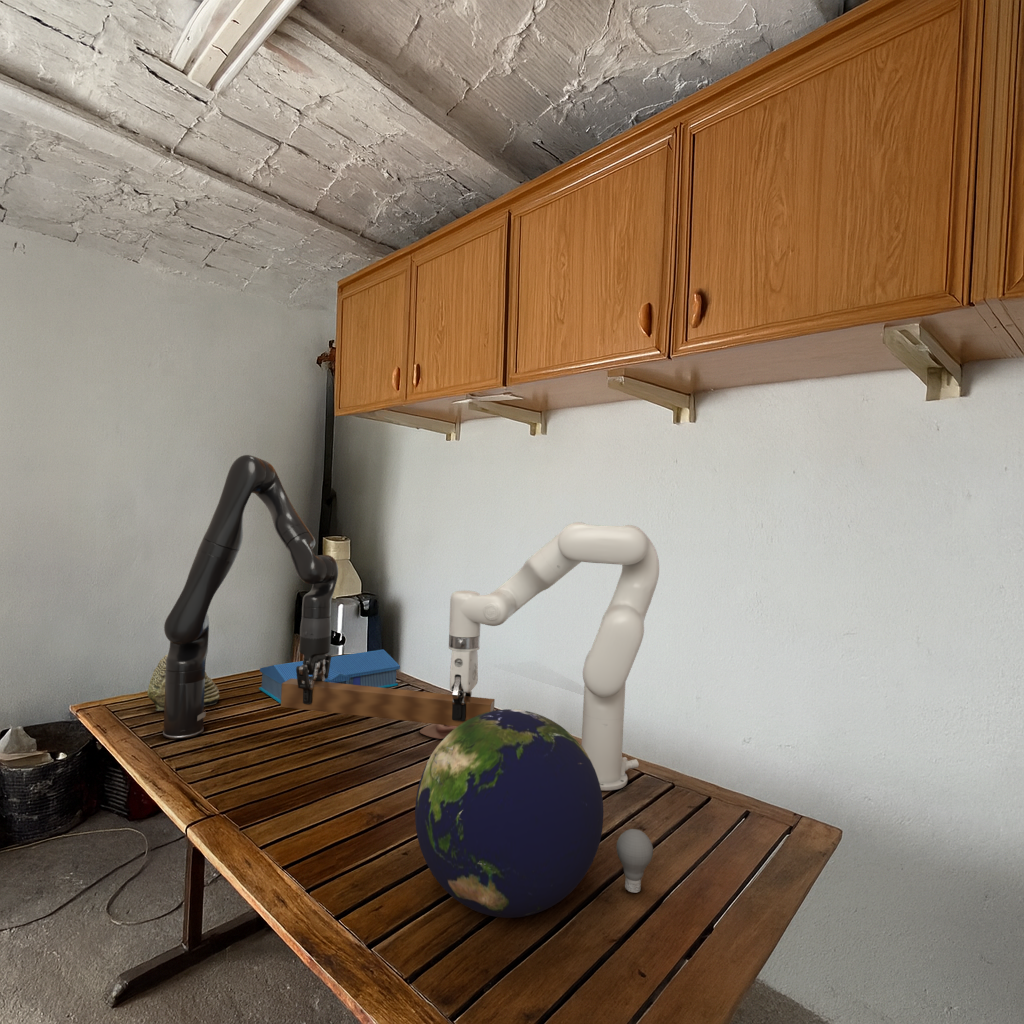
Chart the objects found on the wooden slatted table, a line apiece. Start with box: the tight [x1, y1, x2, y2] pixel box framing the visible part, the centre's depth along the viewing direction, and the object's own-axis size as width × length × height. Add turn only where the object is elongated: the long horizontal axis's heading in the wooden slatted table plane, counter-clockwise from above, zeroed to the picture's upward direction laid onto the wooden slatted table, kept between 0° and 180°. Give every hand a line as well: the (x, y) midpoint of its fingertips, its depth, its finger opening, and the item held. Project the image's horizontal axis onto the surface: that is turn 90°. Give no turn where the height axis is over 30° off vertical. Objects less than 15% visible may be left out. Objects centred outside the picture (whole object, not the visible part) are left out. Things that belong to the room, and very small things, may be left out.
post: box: [280, 678, 496, 726], centre depth 158 cm, size 54×5×6 cm, turn 80°
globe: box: [414, 708, 604, 919], centre depth 101 cm, size 30×30×30 cm
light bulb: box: [615, 828, 654, 894], centre depth 106 cm, size 6×6×10 cm
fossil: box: [147, 654, 221, 712], centre depth 185 cm, size 9×18×15 cm, turn 132°
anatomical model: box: [419, 723, 458, 740], centre depth 174 cm, size 13×4×12 cm
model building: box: [258, 649, 401, 704], centre depth 208 cm, size 39×24×10 cm, turn 132°
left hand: (312, 700), depth 161 cm, fingers closed on post, 4 cm apart
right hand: (461, 715), depth 154 cm, fingers closed on post, 4 cm apart
